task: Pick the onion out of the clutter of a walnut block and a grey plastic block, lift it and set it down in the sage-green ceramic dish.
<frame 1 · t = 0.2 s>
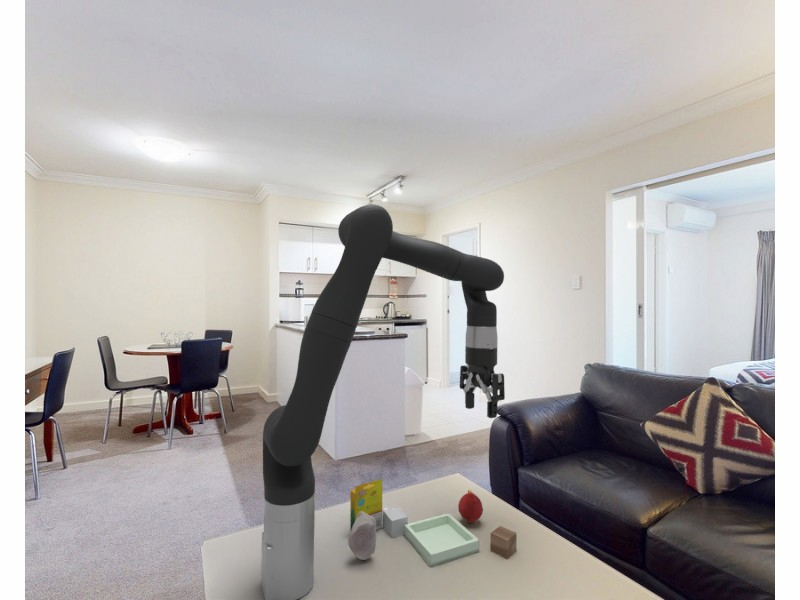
hand: (480, 412, 95), 27 cm above the table, fingers open, 8 cm apart
grey block: (394, 530, 94), on the table
dish: (440, 543, 89), on the table
walnut block: (503, 551, 87), on the table
onion: (470, 523, 97), on the table
fossil: (361, 561, 83), on the table
crayon box: (366, 530, 94), on the table
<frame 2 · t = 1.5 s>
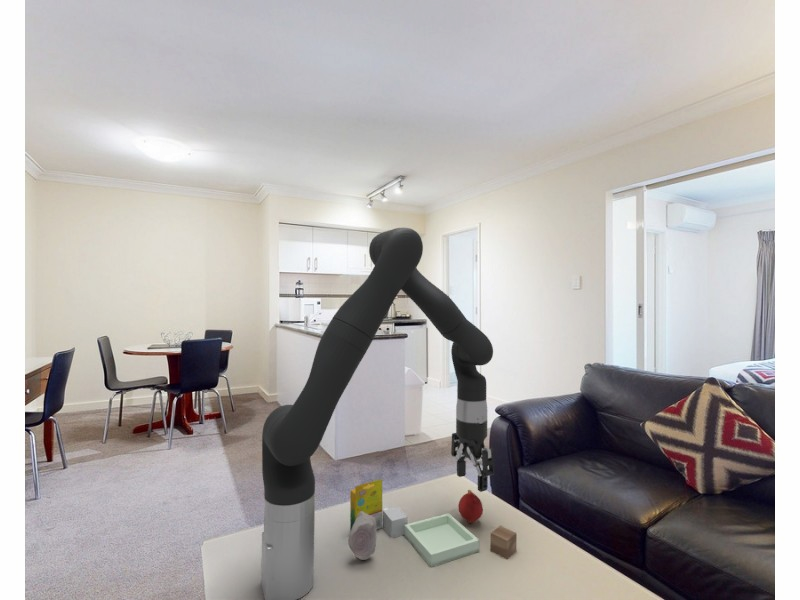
hand: (471, 483, 97), 10 cm above the table, fingers open, 8 cm apart
nothing on the table moved.
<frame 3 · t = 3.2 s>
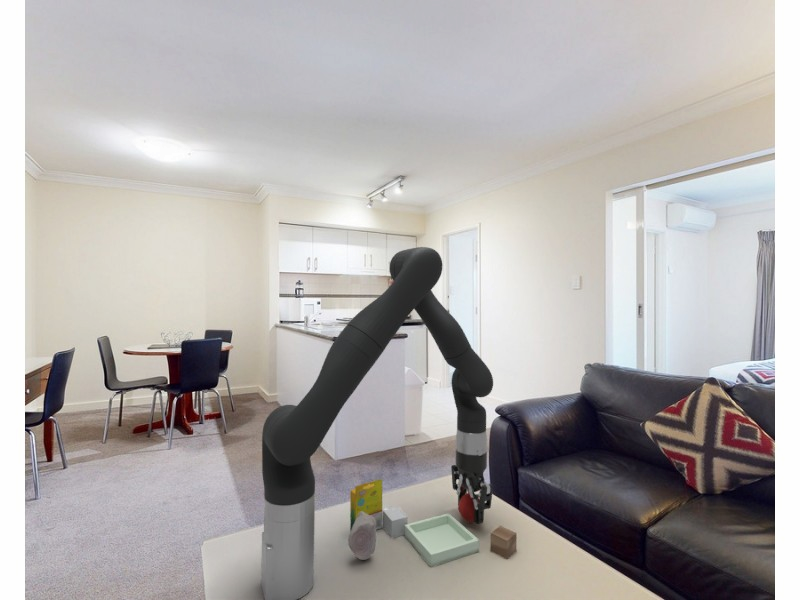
hand: (470, 516, 97), 2 cm above the table, fingers closed on onion, 6 cm apart
onion: (470, 523, 97), on the table, touching gripper
everything else where it was.
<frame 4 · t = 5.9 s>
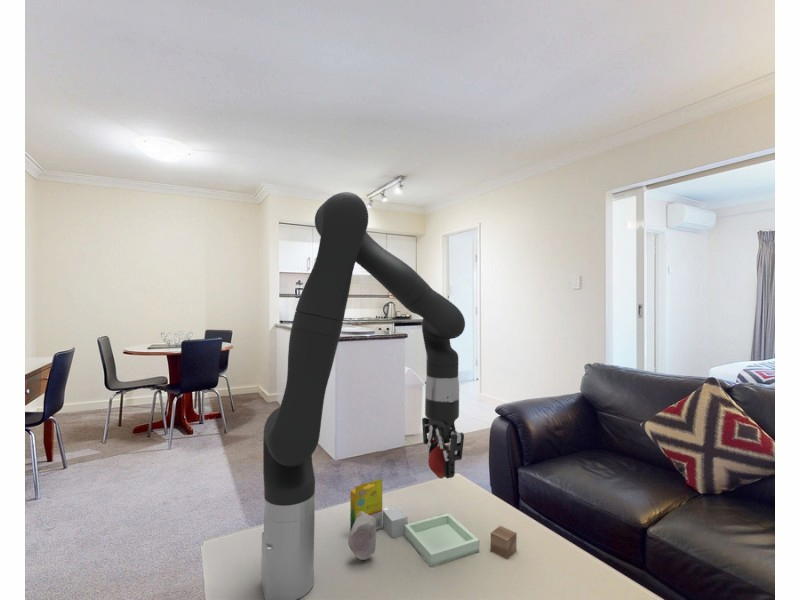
hand: (441, 471, 89), 16 cm above the table, fingers closed on onion, 6 cm apart
onion: (441, 479, 89), point 14 cm above the table, touching gripper
everything else where it was.
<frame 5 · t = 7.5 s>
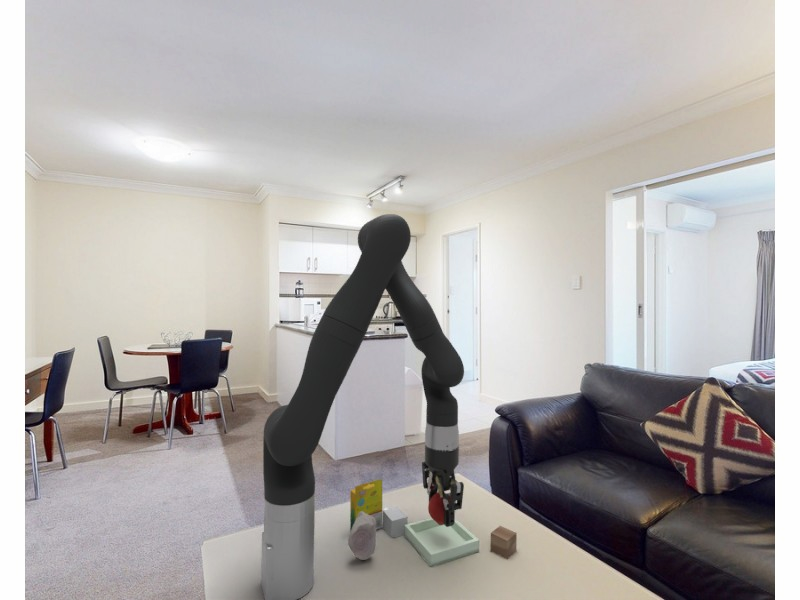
hand: (441, 517, 89), 6 cm above the table, fingers closed on onion, 6 cm apart
onion: (441, 525, 89), point 4 cm above the table, touching gripper
everything else where it was.
when the fingers open (4 cm above the table, at t = 8.9 s): onion drops 2 cm, resting on dish.
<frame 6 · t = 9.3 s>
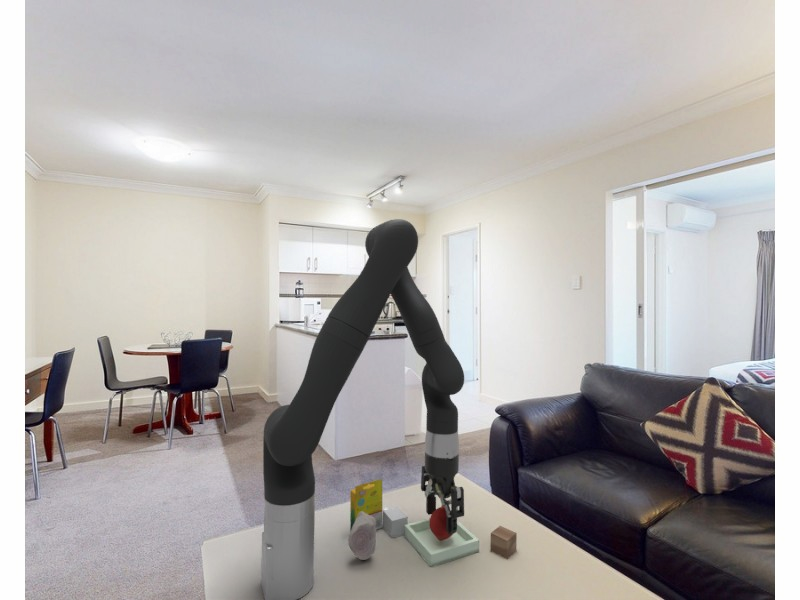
hand: (440, 522, 89), 5 cm above the table, fingers open, 8 cm apart
onion: (440, 541, 89), point 1 cm above the table, touching dish
everything else where it was.
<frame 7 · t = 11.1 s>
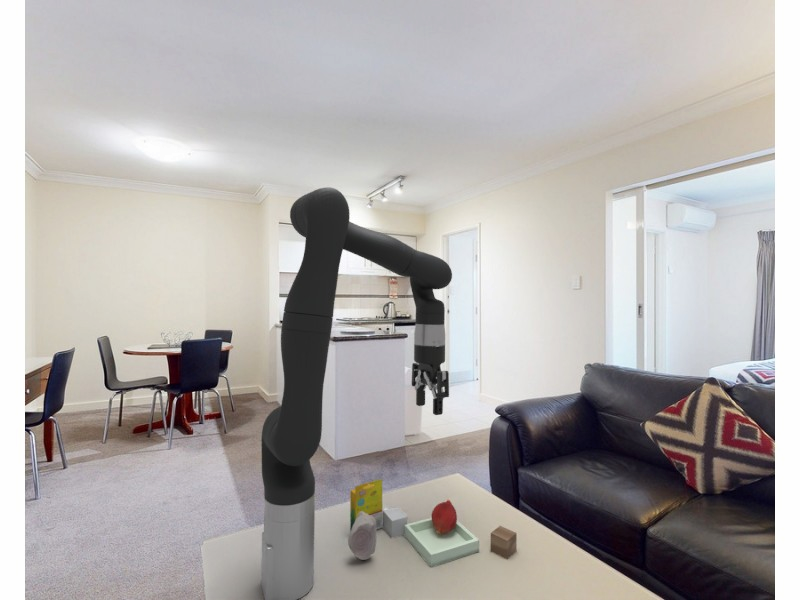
hand: (428, 409, 96), 28 cm above the table, fingers open, 8 cm apart
onion: (438, 534, 90), point 2 cm above the table, touching dish
everything else where it was.
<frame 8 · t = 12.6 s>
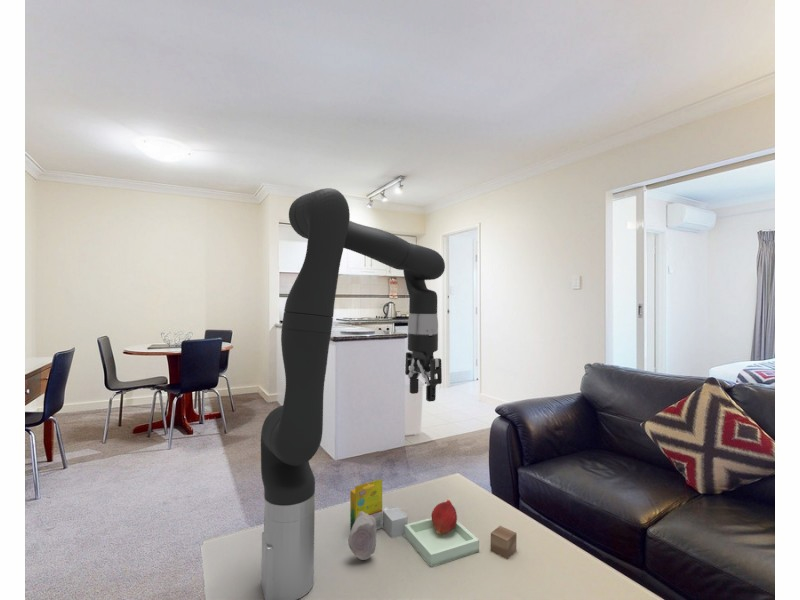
hand: (422, 397, 99), 30 cm above the table, fingers open, 8 cm apart
nothing on the table moved.
at the end: onion inside the target area on the dish (0.8 cm from its centre), point 1.6 cm above the dish's base; the gripper is holding nothing; walnut block moved 0.1 cm from its start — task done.
